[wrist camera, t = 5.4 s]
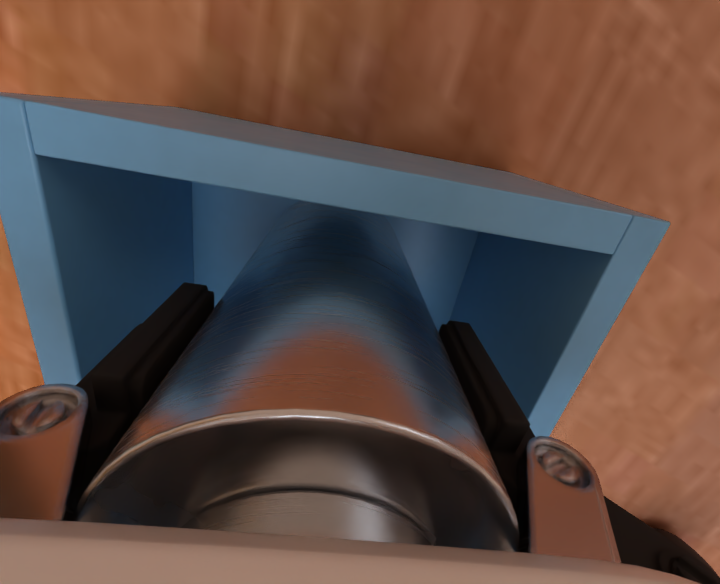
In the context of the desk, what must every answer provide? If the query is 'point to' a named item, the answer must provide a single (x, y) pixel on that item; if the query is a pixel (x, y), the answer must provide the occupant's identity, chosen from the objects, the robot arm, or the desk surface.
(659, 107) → the desk surface
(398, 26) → the desk surface
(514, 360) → the cooler
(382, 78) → the desk surface
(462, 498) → the water bottle
